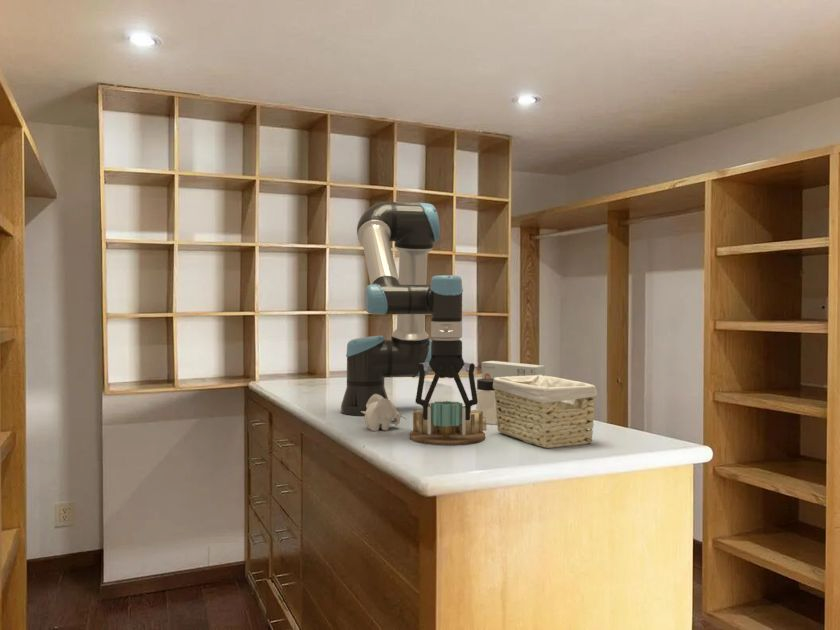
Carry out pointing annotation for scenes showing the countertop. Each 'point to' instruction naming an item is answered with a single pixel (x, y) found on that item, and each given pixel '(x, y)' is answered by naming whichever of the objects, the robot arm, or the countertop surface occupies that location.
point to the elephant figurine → (380, 413)
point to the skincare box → (510, 369)
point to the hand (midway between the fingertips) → (446, 433)
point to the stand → (484, 423)
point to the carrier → (448, 431)
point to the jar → (486, 400)
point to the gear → (446, 413)
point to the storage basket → (545, 410)
